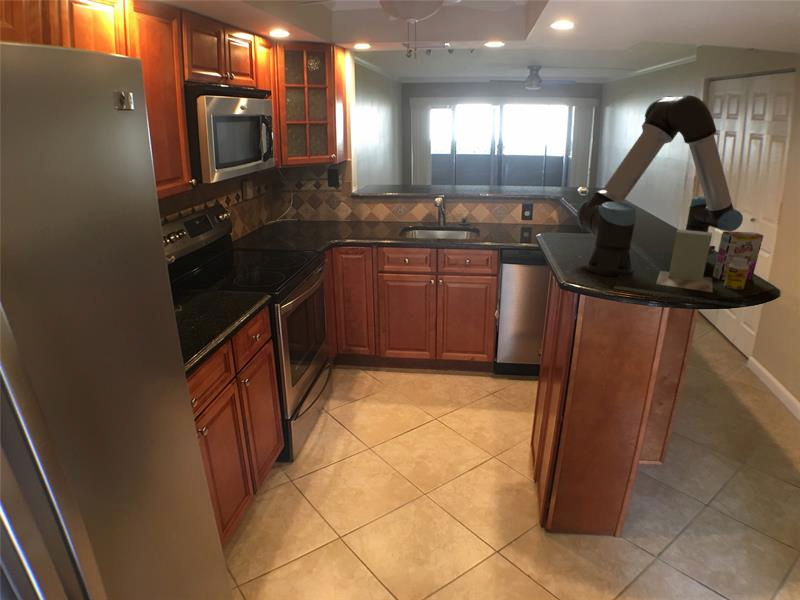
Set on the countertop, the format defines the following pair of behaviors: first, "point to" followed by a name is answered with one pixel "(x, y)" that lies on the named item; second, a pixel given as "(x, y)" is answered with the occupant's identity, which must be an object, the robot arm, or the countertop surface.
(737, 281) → the supplement bottle
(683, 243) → the pale green rectangular block
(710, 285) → the board
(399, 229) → the countertop surface
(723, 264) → the candy bar box
